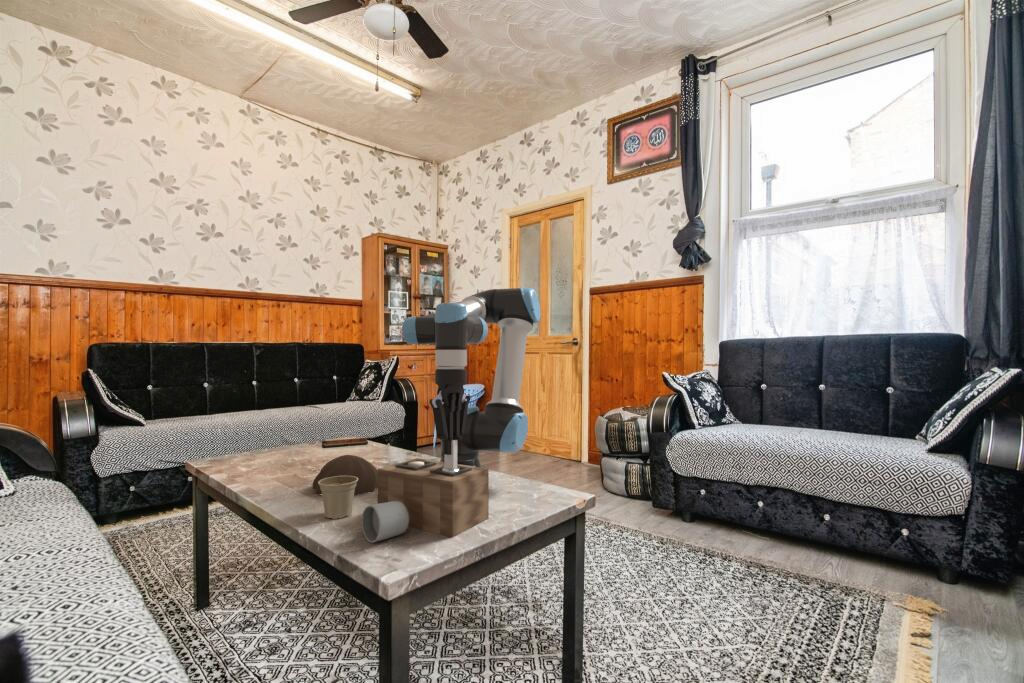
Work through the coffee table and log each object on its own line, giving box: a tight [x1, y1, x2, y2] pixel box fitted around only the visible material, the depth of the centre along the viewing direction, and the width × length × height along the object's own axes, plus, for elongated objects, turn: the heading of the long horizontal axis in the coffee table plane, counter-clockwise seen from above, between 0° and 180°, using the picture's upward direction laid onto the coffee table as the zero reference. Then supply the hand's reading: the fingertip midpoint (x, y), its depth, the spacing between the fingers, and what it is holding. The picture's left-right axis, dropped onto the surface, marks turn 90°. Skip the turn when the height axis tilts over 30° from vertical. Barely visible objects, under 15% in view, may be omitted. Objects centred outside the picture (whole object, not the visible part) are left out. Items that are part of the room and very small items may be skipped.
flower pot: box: [318, 476, 358, 520], centre depth 119 cm, size 9×9×9 cm
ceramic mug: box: [361, 501, 410, 544], centre depth 106 cm, size 11×8×8 cm
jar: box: [457, 455, 475, 467], centre depth 129 cm, size 9×8×12 cm
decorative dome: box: [312, 454, 378, 497], centre depth 144 cm, size 19×20×10 cm
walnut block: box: [377, 457, 490, 538], centre depth 117 cm, size 14×23×13 cm, turn 59°
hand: (450, 467), depth 114 cm, fingers closed
